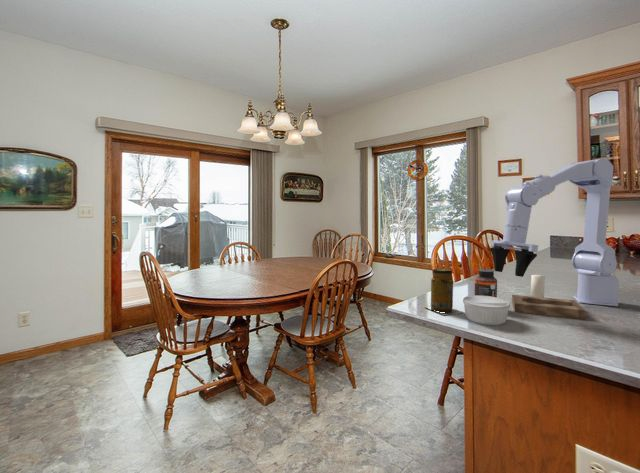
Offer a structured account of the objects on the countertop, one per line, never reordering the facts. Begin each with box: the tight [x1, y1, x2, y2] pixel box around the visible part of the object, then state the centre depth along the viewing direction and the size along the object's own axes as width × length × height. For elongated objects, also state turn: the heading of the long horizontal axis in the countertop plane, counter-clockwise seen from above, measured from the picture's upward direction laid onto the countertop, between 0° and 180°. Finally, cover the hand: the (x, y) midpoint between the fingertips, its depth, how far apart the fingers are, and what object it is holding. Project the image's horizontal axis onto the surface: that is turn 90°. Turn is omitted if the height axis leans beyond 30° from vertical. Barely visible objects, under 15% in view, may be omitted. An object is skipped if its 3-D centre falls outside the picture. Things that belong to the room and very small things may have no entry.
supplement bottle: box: [474, 268, 498, 298], centre depth 97 cm, size 6×6×11 cm
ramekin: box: [462, 295, 511, 326], centre depth 87 cm, size 11×11×5 cm
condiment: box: [430, 267, 465, 316], centre depth 95 cm, size 7×8×12 cm
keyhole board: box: [511, 294, 586, 320], centre depth 94 cm, size 16×11×2 cm
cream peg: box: [530, 274, 546, 298], centre depth 105 cm, size 4×4×8 cm
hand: (508, 273), depth 95 cm, fingers open, 7 cm apart
